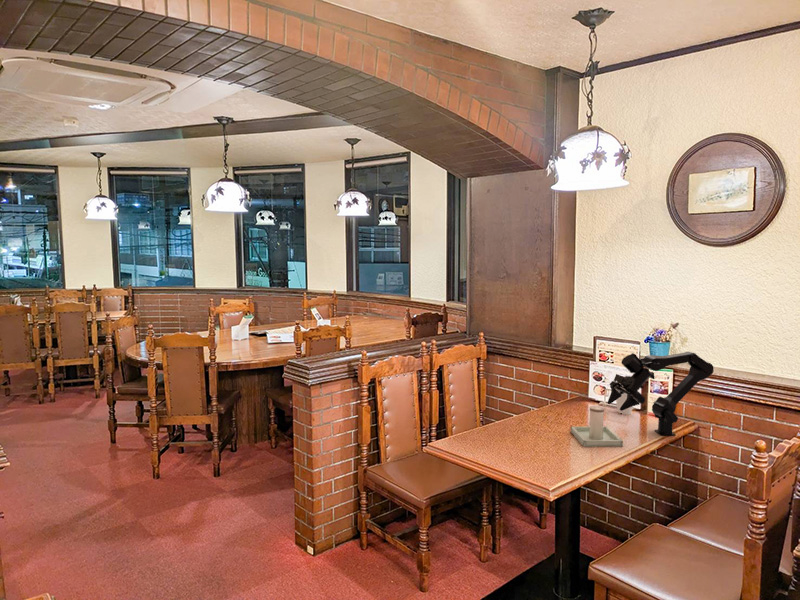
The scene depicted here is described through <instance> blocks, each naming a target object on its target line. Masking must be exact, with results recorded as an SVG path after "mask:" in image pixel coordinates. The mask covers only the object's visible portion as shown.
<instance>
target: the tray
mask: <svg viewBox="0 0 800 600" xmlns="http://www.w3.org/2000/svg"><path fill="white" fill-rule="evenodd" d="M570 433H571V434H572V435H573V437H575V438H576V440H577V441H578V442H579V444H580V445H582V447H583V448H612V447H613V448H618V447H619V448H623V446H624V445H623V444H624V440H622V439H621V437H619V436H618V435H617V434H616V433H615V432H614V431H612V430H611V429H610V428H609V427H608V426H603V439H600V440H596V439H591V438H590V437H589V426H570Z"/></svg>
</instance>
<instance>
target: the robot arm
mask: <svg viewBox="0 0 800 600" xmlns="http://www.w3.org/2000/svg"><path fill="white" fill-rule="evenodd" d="M686 363H687V364H688V365H689V366H690V367H689V370H688V374H687V375H686V376H685V377H684V378H683V379H682V380H681V381H680V382H679V383H678V384H677V385H676V386H675V388H674V389H673V390H672V391H670V392H669V394H667V396H665V397H662V396H659V397H657V399H655V400H654V401H653V404H652V406H651V411H652V413H653V414H654V415H653V416H654V417H655V418H657V419H658V422H657V423H658V424H657V425H658V426H657V429H654V431H655V432H656V434H658V435H660V436H676V433H675V432H674V431H673V425H674V423H677V422H678V419H679V417H678V416H677V415H676V414H675V412H676V408H677V405H678V403H679V402H681V400H683V398H684V397H685V396H686V395H687V394H688V393H689V392H690V391H691V390H692V389H694V387H695V386H696V385H697V384H698V383H699V382H700V381H704V380H705V379H707V378H709V377H710V376H712V374H713V373H714V365H713V364H712V363H710V362H707V361H706V360H704V359H703V358H701V357H700V356H699V355H697V354H696V352H693V351H685V352H680V353H679V352H678V353H674V354H668V355H667V354H666V355H656V354H655V355H653V354H652V355H650V354H647V355H645V356H644V357H642V358H639V356H638V355H637V354H636V353H634V352H631V354H628V355H626V356H624V357H623V358H622V360H621V365H623V367H624V368H625V369H626V370H628V372H629V373H631V374H632V375H631V376H630V375H625V376H622V375H621V374H617V373H616V374H615V376H614V378H613V380H612V381H611V382H610V383H609V387H610V395H609V397H608V400H607V402H606V403H607V404H608V405H611V404H612V403H614V402H616V400H617V399H618V398H620V397H621V396H622V395H621V394H624V393H626V394H627V399H626V401H625V402H624V403H623V405H622V406H621V407H620V410H621V411H622V410H625V409H627V408H630V407H632V408H633V407H636V406H638V405H643V404H644V403H645V402H646V397H644V396H643V394H642V393H641V392H640V391H639V390H640V389H644V386H643V385H645V383H646V382H647V381H648V379H652V380H655V379H656V378H655V372H658V371H661V370H663V369H664V370H665V368H666V367H668V366H675V365H681V364H686ZM650 370H651V371H650ZM652 371H654V372H652Z"/></svg>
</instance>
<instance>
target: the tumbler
mask: <svg viewBox="0 0 800 600" xmlns="http://www.w3.org/2000/svg"><path fill="white" fill-rule="evenodd" d="M604 411H605V408H604V407H603V406H600V405H591V406H590V407H589V425H588V427H589V437H590V438H591V439H596V440H600V439H603V427H604V415H605V412H604Z"/></svg>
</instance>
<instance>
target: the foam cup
mask: <svg viewBox="0 0 800 600" xmlns="http://www.w3.org/2000/svg"><path fill="white" fill-rule="evenodd" d="M621 395H622V396H621V397H620V398H618V399H617V400H615V402H616V410H617V411H618V412H619V413H618V412H617V411H616V412H617V413H618V414H620V413H622V414H621V415H625V414H628V415H631V414H632V411H633V406H632V407H630V408H627V409H625V410H622V411H621V410H620V407H621V406H622V405H623V403H624V402H625V401H626V399H627V394H626V393H624V394H621Z"/></svg>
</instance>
